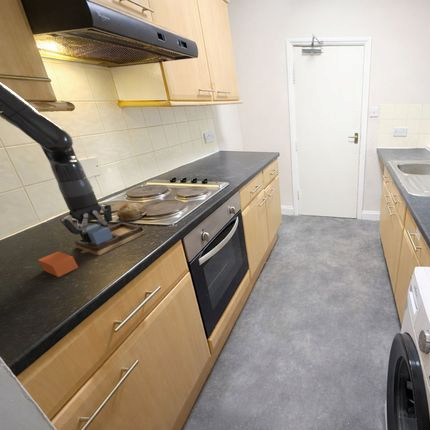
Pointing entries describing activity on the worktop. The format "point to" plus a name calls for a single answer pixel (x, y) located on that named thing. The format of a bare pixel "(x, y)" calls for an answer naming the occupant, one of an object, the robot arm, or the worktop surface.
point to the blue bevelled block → (98, 234)
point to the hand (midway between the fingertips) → (97, 238)
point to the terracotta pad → (58, 263)
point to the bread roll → (131, 211)
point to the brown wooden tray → (120, 236)
